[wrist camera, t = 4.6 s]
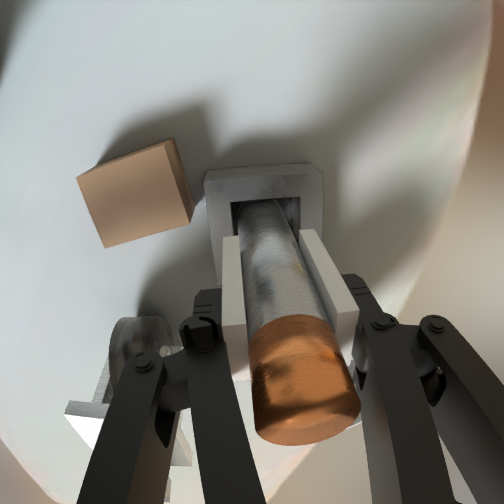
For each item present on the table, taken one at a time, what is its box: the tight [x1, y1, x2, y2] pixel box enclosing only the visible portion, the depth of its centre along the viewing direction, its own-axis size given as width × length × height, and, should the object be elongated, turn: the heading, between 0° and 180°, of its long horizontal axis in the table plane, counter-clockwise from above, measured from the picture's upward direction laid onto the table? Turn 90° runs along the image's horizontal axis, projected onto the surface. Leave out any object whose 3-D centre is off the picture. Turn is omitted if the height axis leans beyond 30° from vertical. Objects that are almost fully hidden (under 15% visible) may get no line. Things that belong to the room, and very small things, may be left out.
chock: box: [76, 138, 195, 248], centre depth 20 cm, size 5×6×4 cm
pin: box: [237, 198, 361, 446], centre depth 15 cm, size 3×3×15 cm
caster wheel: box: [64, 316, 193, 502], centre depth 22 cm, size 10×7×13 cm
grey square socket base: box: [204, 163, 323, 285], centre depth 21 cm, size 7×7×3 cm
